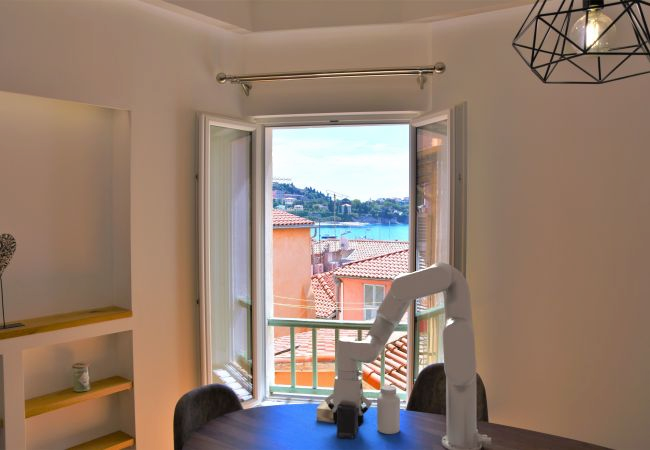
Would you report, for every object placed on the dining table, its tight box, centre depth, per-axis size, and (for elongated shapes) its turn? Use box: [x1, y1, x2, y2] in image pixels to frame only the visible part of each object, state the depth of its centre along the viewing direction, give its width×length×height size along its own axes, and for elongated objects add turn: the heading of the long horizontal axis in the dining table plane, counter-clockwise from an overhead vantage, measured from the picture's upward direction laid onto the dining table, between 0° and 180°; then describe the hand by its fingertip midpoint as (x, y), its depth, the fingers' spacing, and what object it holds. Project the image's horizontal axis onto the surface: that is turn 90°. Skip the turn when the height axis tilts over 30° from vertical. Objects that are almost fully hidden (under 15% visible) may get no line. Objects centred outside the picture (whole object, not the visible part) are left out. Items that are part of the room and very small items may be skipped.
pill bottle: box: [376, 384, 401, 435], centre depth 180 cm, size 8×8×15 cm
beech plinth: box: [316, 398, 335, 423], centre depth 192 cm, size 10×10×4 cm
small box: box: [336, 404, 359, 440], centre depth 178 cm, size 11×6×10 cm, turn 168°
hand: (348, 423), depth 178 cm, fingers open, 7 cm apart
